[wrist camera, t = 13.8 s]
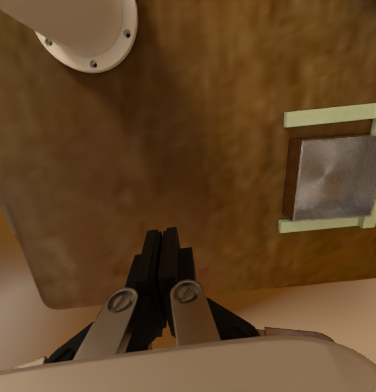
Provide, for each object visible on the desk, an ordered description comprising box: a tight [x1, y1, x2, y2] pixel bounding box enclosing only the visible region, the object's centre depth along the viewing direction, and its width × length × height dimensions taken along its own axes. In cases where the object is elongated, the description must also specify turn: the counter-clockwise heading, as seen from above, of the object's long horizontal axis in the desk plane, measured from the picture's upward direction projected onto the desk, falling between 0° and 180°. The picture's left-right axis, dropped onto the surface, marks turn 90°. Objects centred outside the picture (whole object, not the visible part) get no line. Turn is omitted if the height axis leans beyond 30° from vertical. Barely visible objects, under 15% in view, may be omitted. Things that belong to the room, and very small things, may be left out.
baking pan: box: [282, 133, 376, 222], centre depth 31 cm, size 12×12×4 cm
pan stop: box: [278, 103, 376, 233], centre depth 32 cm, size 19×15×2 cm
